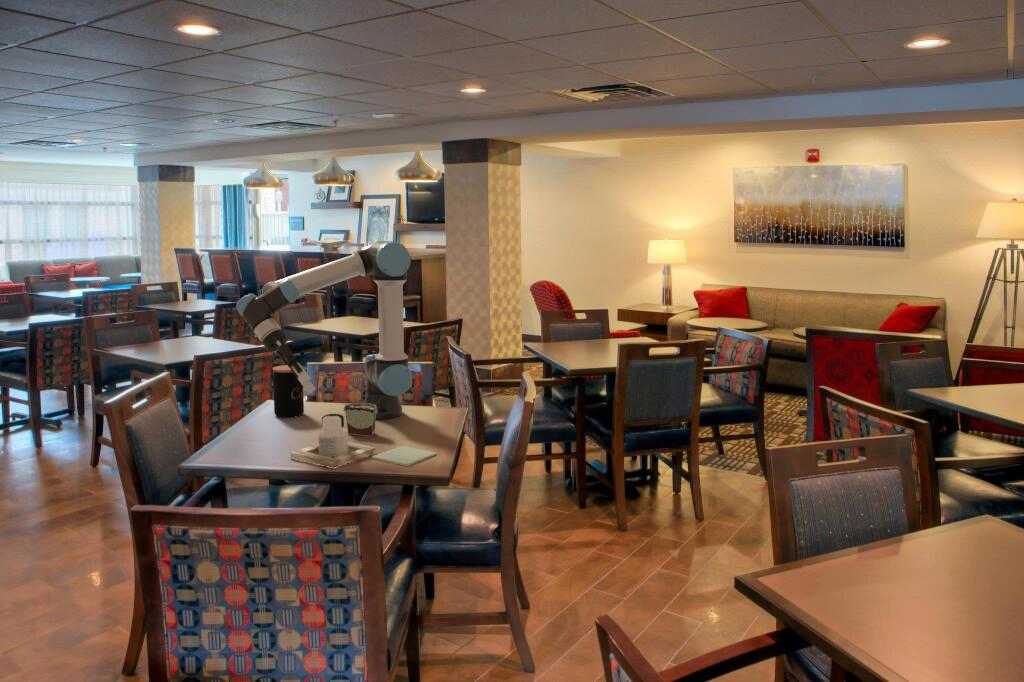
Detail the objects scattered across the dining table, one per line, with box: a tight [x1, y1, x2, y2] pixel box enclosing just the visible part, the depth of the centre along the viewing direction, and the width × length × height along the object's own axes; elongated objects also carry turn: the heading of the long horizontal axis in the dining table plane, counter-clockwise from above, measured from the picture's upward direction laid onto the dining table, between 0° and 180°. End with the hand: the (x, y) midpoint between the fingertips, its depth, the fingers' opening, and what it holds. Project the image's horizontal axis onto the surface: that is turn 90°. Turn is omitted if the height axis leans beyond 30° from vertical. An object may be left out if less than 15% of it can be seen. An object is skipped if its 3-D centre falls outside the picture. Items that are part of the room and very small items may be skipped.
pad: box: [371, 445, 438, 467], centre depth 234 cm, size 14×14×1 cm
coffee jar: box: [272, 364, 305, 418], centre depth 283 cm, size 11×11×18 cm
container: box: [318, 413, 349, 458], centre depth 233 cm, size 8×8×13 cm
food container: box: [343, 402, 378, 437], centre depth 260 cm, size 12×6×10 cm, turn 71°
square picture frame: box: [290, 441, 377, 468], centre depth 233 cm, size 18×18×2 cm
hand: (310, 386), depth 244 cm, fingers open, 13 cm apart
